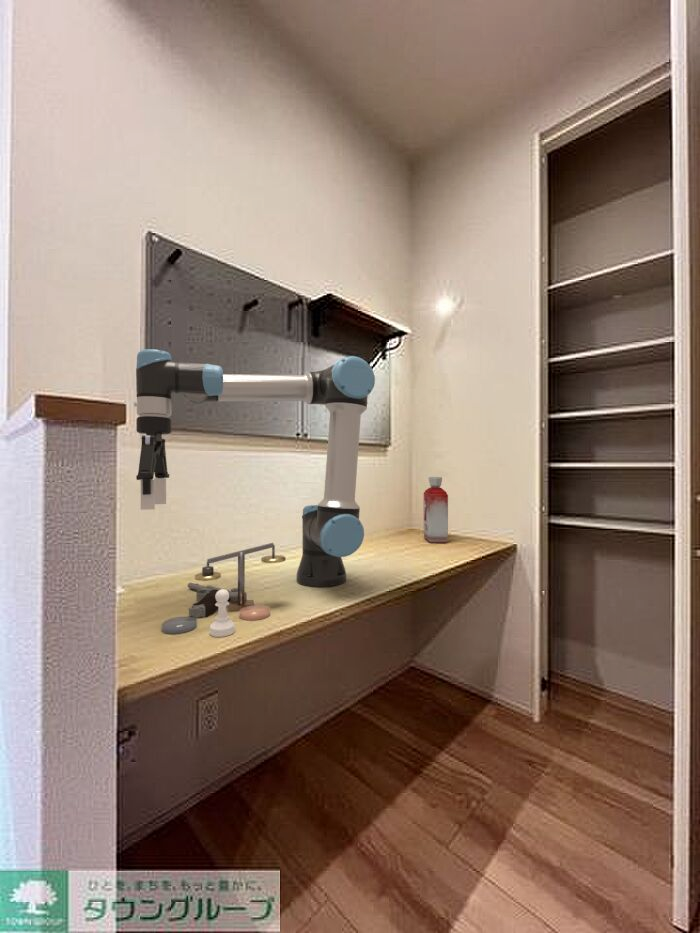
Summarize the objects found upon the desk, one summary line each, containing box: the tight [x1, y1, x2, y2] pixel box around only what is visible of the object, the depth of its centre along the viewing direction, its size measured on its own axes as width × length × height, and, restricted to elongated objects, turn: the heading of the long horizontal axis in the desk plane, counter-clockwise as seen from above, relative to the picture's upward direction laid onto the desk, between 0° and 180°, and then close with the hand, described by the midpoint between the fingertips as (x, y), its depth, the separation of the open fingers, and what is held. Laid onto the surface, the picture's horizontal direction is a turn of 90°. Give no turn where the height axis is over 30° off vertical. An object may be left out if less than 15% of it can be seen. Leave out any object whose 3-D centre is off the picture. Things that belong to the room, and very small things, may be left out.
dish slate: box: [161, 616, 198, 635], centre depth 92 cm, size 7×7×1 cm
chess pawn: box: [209, 588, 236, 638], centre depth 90 cm, size 5×5×9 cm
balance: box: [194, 542, 287, 613], centre depth 105 cm, size 22×6×16 cm, turn 105°
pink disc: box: [238, 604, 271, 621], centre depth 100 cm, size 7×7×1 cm
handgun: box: [187, 582, 248, 620], centre depth 110 cm, size 3×24×15 cm
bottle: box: [422, 476, 449, 544], centre depth 200 cm, size 14×10×30 cm
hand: (154, 506), depth 101 cm, fingers open, 13 cm apart
